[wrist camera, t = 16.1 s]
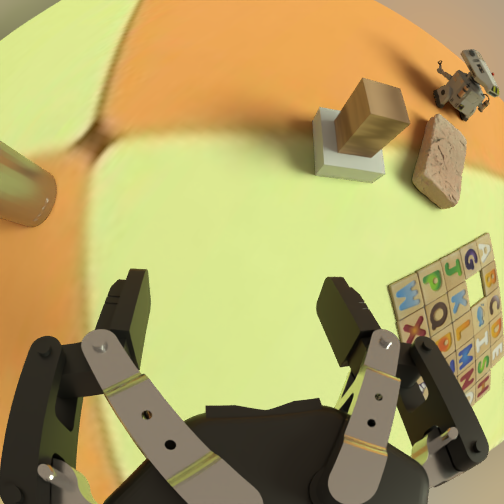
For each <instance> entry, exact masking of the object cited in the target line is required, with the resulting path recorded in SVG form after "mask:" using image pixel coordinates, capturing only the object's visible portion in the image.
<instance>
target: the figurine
mask: <svg viewBox="0 0 504 504" xmlns="http://www.w3.org/2000/svg"><path fill="white" fill-rule="evenodd" d="M461 56H462V57H463V59H464V61H465V63H466V65H467V67H468V68H469V70H470V72H469V73H468V74H467V73H463V72H462V71H460V70H458V71H456V73H455V74H454V75H453V76H451V75H450V74H448V73H446V72H444V71H443V70H442V69H441V63H442V61H441V63H439V62H440V61H439V62H438V64H439V65H440V66H439V68H438V69H437V72H438V73H440V74H442V75H443V76H444V77H446V78H447V79H448V80H449V82H448V83H447V84H446V85H444V86H441V87H440V88H439V89H436V90H435V91H434V95H435V96H434V98H436V101H435V102H436V105H437V106H438V107H440V108H443V107H444V104H445V103H447V102H448V101H449V102H450V103H451V104H452V105H453V106H454V108H455V109H457V110H459V111H460V115H461V119H462V120H464V121H467V120H468V118H469V117H470V116H472V115H473V113H474V112H475V110H476V107H477V106H478V107H479V108H478V110H479V111H480V112H482V111H483V110H484V109H485V108H486V107H487V106H488V105H489V104H490V103H489V100H486V101H485V102H484V103H483V104H482V101H483V99H484V98H485V96H484V95H486V94H483V92H482V90H481V87H480V86H479V85H482V86H483V87H484V88H485V91H486V93H487V94H489V95H491V96H493V97H497V96H499V88H498V86H497V84H496V82H495V80H494V78H493V76H492V75H494V74H493V73H491V72H490V70H489V69H488V67H487V65H486V63H485V61H484V60H483V58H482V56H481V54H480V53H479V52H477V51H476V50H474V49H470V50H463V51H462V53H461ZM486 96H487V95H486ZM487 97H488V96H487ZM488 99H489V97H488Z"/></svg>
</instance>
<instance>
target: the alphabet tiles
mask: <svg viewBox="0 0 504 504" xmlns="http://www.w3.org/2000/svg"><path fill="white" fill-rule="evenodd" d="M478 271H480V273H481V279H482V285H483V291H484V297H483V298H482V299H481V300H479V301H478V302H477V303H476V304H474V305H473V306H472V307H471V308H470V304H469V297H468V291H467V286H466V281H465V279H468V278H469V277H471V276H472V275H474V274H475V273H477V272H478ZM388 287H389V291H390V295H391V299H392V303H393V307H394V311H395V315H396V319H397V327H398V331H399V336H400V340H401V342H404V343H410V344H413V342H414V341H415V339H416V338H417V337H419V336H426V337H428V338H430V339H432V340H433V341H434V342H435V343H436V345H437V346H438V348H439V349H440V351H441V353H442V354H443V356H444V358H445V359H446V361H447V363H448V364H449V366H450V368H451V370H452V371H453V373H454V375H455V377H456V379H457V380H458V382H459V384H460V386H461V388H462V390H463V391H464V393H465V395H466V397H467V399H468V401H469V403H470V405H471V407H472V406H473V405H474V404H475V403H476V402H477V401H478V400H479V399H481V398H482V397H483V396H484V395H485V394H486V393H487V392H488V391H489V390H490V378H491V370H490V369H491V368H492V367H493V366H494V365H495V364H496V363H497V362H498V361H499V360H500V359H501V358H502V357H503V356H504V335H503V318H502V307H501V297H500V290H499V282H498V276H497V270H496V264H495V260H494V253H493V249H492V244H491V239H490V235H489V233H485V234H483V235H482V236H480V237H478V238H476V239H475V240H474V241H472V242H470V243H468V244H466V245H464V246H462V247H461V248H459V249H458V250H456V251H454V252H452V253H450V254H448V255H447V256H445V257H443V258H441V259H439V260H438V261H435V262H433V263H431V264H430V265H428V266H426V267H424V268H422V269H420V270H418V271H416V272H415V273H412V274H410V275H408V276H406V277H404V278H402V279H400V280H398V281H396V282H394V283H392V284H390V285H389V286H388ZM417 383H418V385H419V387H420V389H421V392H422V394H423V396H424V398H425V400H426V399H427V397H428V389H427V387H426V385H425V383H424V381H423V379H422V377H420V378H419V379H418V380H417Z"/></svg>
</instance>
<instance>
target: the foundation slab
mask: <svg viewBox="0 0 504 504" xmlns="http://www.w3.org/2000/svg"><path fill="white" fill-rule="evenodd" d="M339 113H340V111H338V110H333V109H327V108H321V107H320V108H319V110H318V111H317V113H316V115H315V117H314V119H313V121H312V124H313V140H314V159H315V176H324V177H332V178H340V179H348V180H355V181H362V182H369V183H373V182H374V181H376V180H377V179H379V178H380V177H382V176H383V175H385V168H384V160H383V153H382V149H381V150H380V151H379V152H378V153H376V154H375V155H374V156H373V157H372V158H367V157H361V156H355V155H349V154H342V153H338V151H337V142H336V133H335V125H334V120H335V119H336V117H337V116H338V114H339Z"/></svg>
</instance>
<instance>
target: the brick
mask: <svg viewBox="0 0 504 504" xmlns="http://www.w3.org/2000/svg"><path fill="white" fill-rule="evenodd" d="M466 144H467V141H466V139H465V137H464V136H463V135H462V133H461V132H460V131H459V130H458V129H456V128H455V127H454V126H453V125H452V124H451V123H449V121H448V120H446V119H445V118H444V117H443V116H442V115H440V114H436V115H435V116H434V117H432V118H431V119H430V120H429V121H428V122H427V124H426V127H425V135H424V138H423V140H422V146H421V148H420V152H419V156H418V159H417V163H416V166H415V169H414V174H413V177H412V181H413V184H414V185H415V186H416V187H417V189H418V190H419V191H420V192H421V193H423V194H424V195H426V196H427V197H428V198H429V199H430V200H431V201H432V202H433V203H435V204H437V206H438V207H440V208H442V209H447V208H450V207H453V206H455V205H456V204H457V203H458V200H459V198H460V191H461V180H462V176H461V174H462V172H463V168H464V162H465V156H466Z"/></svg>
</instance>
